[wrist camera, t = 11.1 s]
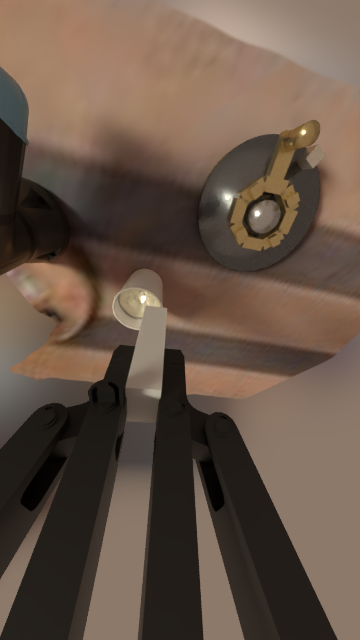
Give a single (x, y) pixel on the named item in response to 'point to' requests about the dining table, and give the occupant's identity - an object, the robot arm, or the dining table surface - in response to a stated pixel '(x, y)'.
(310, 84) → the dining table surface
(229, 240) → the bearing cap
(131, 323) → the candle holder
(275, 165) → the brass lugged wrench
